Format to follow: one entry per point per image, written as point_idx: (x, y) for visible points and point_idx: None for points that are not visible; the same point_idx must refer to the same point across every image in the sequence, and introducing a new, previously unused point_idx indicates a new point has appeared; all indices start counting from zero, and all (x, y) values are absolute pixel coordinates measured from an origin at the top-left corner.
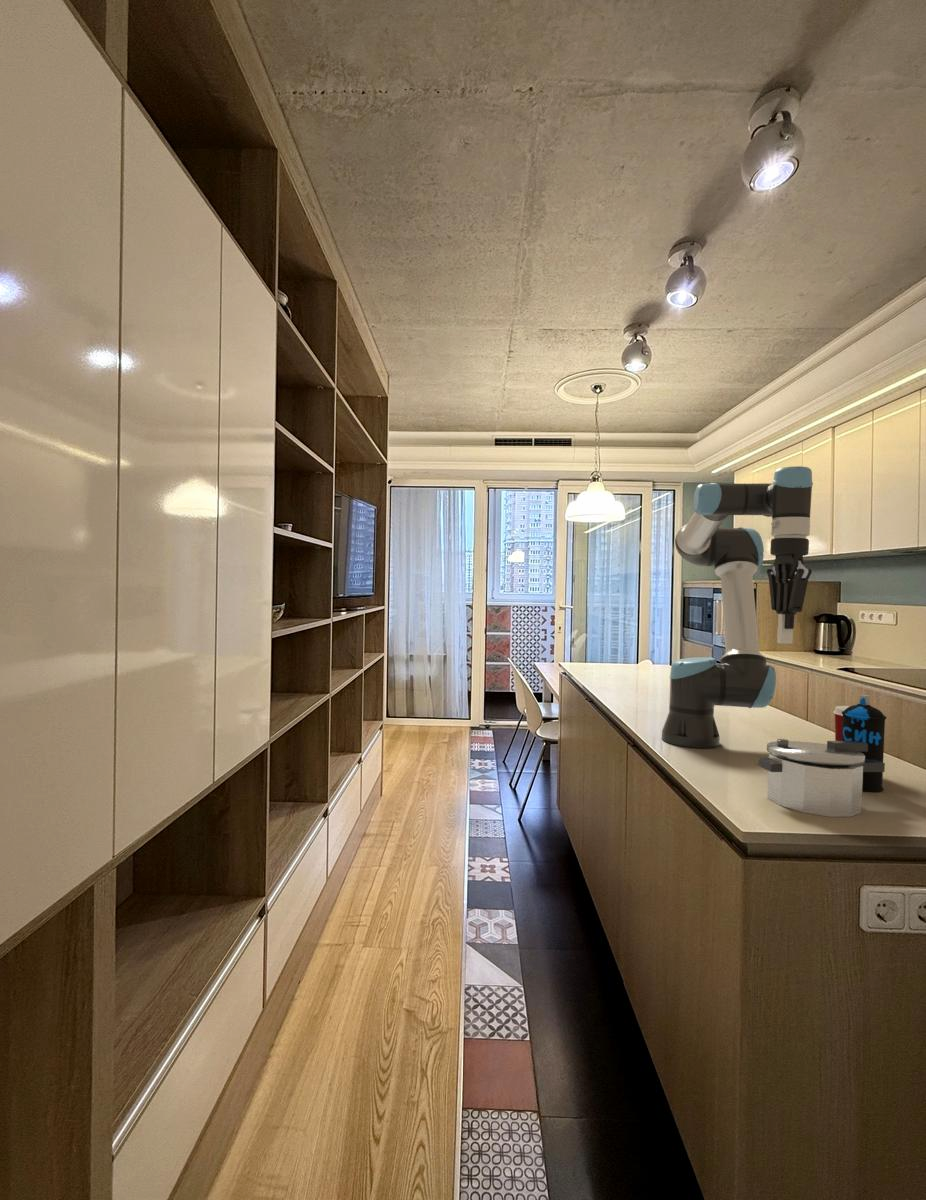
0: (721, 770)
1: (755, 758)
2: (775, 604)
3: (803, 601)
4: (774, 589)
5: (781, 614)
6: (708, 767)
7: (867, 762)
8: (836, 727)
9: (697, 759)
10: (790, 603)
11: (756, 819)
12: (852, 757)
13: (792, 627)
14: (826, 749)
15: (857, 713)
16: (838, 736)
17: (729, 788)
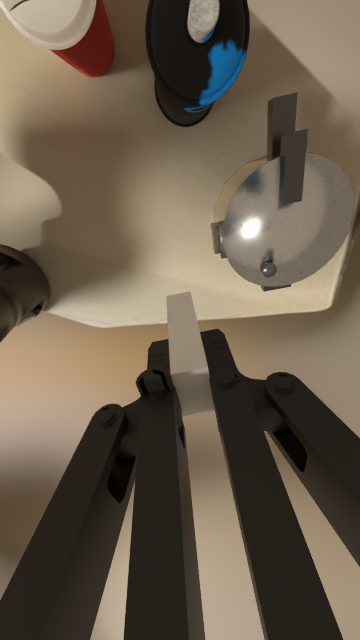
0: (153, 280)
1: (69, 212)
2: (134, 466)
3: (347, 428)
4: (90, 610)
5: (208, 410)
6: (144, 291)
7: (292, 131)
8: (67, 55)
9: (110, 295)
10: (299, 457)
11: (306, 292)
12: (340, 193)
13: (221, 335)
14: (284, 207)
15: (226, 79)
16: (81, 60)
17: (221, 290)
